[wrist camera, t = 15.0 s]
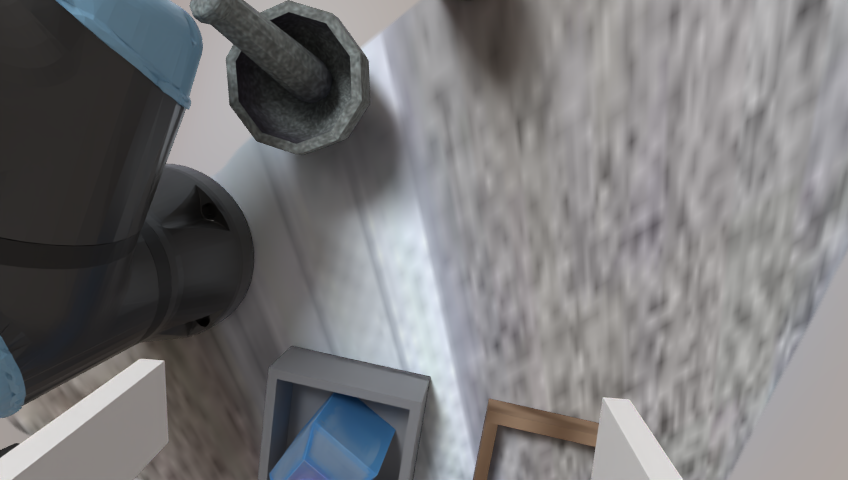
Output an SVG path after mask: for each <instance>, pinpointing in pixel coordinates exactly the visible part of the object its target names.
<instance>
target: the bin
mask: <svg viewBox="0 0 848 480" xmlns="http://www.w3.org/2000/svg"><path fill="white" fill-rule="evenodd" d="M429 382H430V376H425V375H421V374H416V373H411V372H407V371H402V370H398V369H393V368H389V367H384V366H380V365H375V364H371V363H366V362H362V361H357V360H353V359H348V358H344V357H339V356H335V355H330V354H326V353H321V352H317V351H312V350H308V349H303V348H299V347H294V346H291V347H290V348H289V349H288V350H287V351H286V352H285V353H284V354H283V355H282V356H280V357H279V358H278V359H277V360H276V361H275V362H274V363H273V364H272V365H271V366H270V367H269V368H268V378H267V388H266V398H265V409H264V419H263V430H262V440H261V450H260V461H259V471H258V480H270V475H269V473H270V472H271V471H272V469H273V468H274V467H275V465H276V464H277V462H278V461H279V460H280V458H281V457H282V456H283V454H284V453H285V452H286V450H287V449H288V447H289V446H290V445H291V443H292V442H293V441H294V439H295V438H296V436H297V435H298V434H299V432H300V431H301V430H302V429H303V427H304V426H305V425H306V424H307V423H308V422H309V420H310V419H311V418H312V417H313V416H314V415H315V413H316V412H317V411H318V410H319V409H320V408H321V406H322V405H323V404H324V403H325V402H326V401H327V399H328V398H329V397H330V396H331V395H332V393H333V392H336V393H340V394H345V395H349V396H353V397H357V398H359V399H360V400H361V401H362V402H363V403H364V404H366V405H367V406H368V407H369V408H370V409H372V410H373V411H374V412H375V413H376V414H378V415H379V416H380V417H381V418H382V419H384V420H385V421H386V422H387V423H388V424H390V425H391V426H392V427H393V428H394V429H395V432H394V435H393V437H392V440H391V442H390V445H389V447H388V450H387V452H386V455H385V457H384V460H383V462H382V465H381V467H380V470H379V472H378V475H377V476H376V477H375V478H374V479H373V480H413V476H414V470H415V464H416V458H417V453H418V447H419V441H420V435H421V429H422V423H423V417H424V411H425V405H426V399H427V393H428V388H429Z"/></svg>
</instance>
